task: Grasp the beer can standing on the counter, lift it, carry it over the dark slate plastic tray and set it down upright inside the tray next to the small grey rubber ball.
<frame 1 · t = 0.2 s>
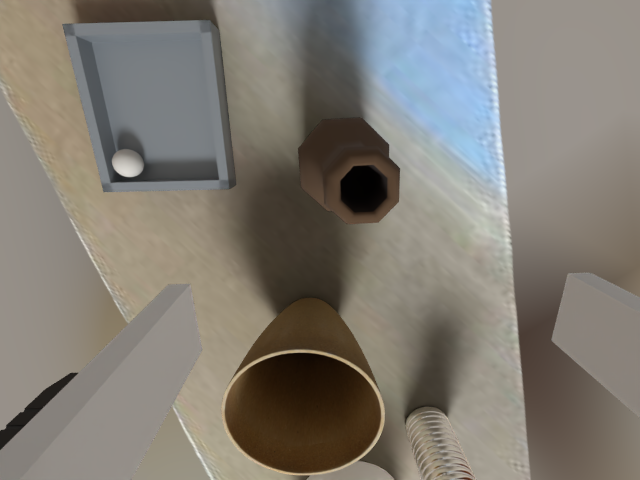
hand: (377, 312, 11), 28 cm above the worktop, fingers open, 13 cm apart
plant pot: (308, 319, 43), on the worktop
tray: (166, 115, 35), on the worktop
beer bottle: (335, 156, 36), on the worktop
ball: (135, 162, 35), point 1 cm above the worktop, touching tray
water bottle: (425, 419, 49), on the worktop
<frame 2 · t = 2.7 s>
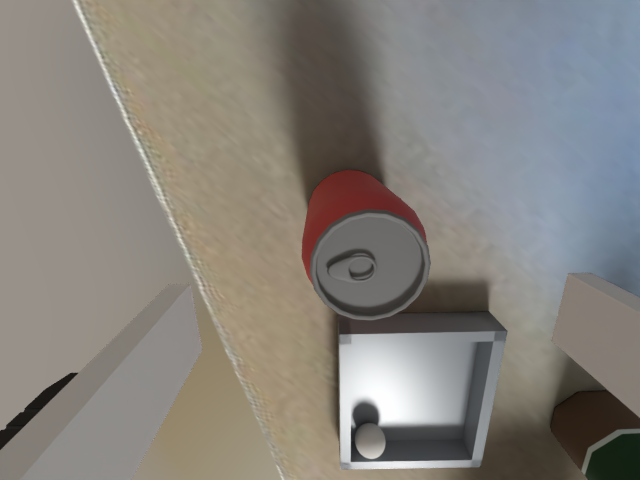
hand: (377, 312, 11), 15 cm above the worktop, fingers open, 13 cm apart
beer can: (348, 208, 26), on the worktop
tray: (407, 381, 31), on the worktop
beer bottle: (583, 414, 33), on the worktop
ball: (367, 426, 32), point 1 cm above the worktop, touching tray
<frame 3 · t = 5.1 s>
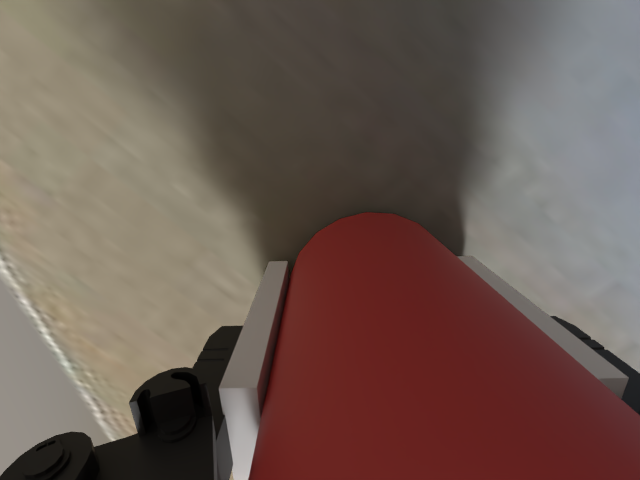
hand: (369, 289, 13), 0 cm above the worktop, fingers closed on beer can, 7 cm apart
beer can: (367, 281, 13), on the worktop, touching gripper
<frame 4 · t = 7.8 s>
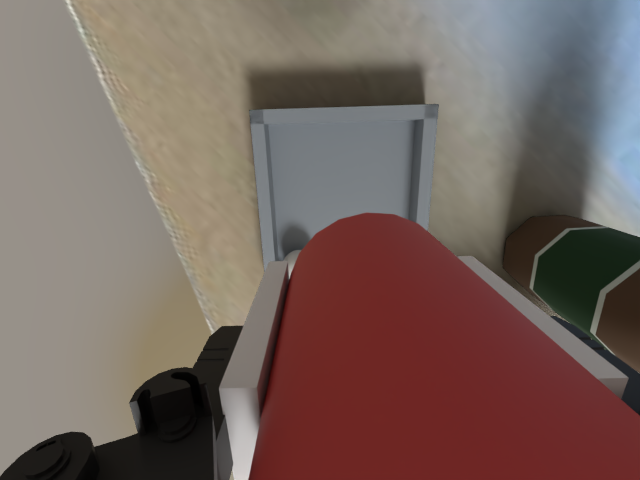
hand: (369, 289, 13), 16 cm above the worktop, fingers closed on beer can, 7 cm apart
beer can: (367, 282, 13), point 16 cm above the worktop, touching gripper
tray: (341, 204, 28), on the worktop
beer bottle: (537, 249, 30), on the worktop
ball: (300, 260, 29), point 1 cm above the worktop, touching tray
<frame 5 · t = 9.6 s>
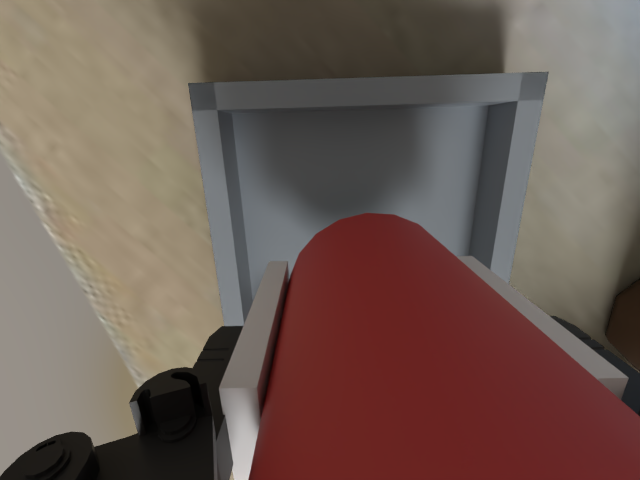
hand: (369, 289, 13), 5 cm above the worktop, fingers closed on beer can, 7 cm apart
beer can: (367, 282, 13), point 4 cm above the worktop, touching gripper
tray: (356, 245, 17), on the worktop
when the fingers open (3 cm above the worktop, at t = 10.9 s): beer can drops 1 cm, resting on tray.
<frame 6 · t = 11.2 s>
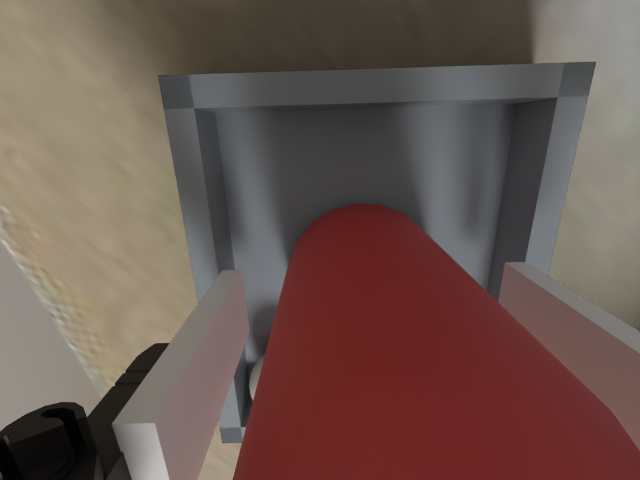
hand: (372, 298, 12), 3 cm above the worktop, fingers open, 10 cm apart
beer can: (359, 267, 15), point 1 cm above the worktop, touching tray
tray: (360, 263, 15), on the worktop
ball: (284, 359, 16), point 1 cm above the worktop, touching tray
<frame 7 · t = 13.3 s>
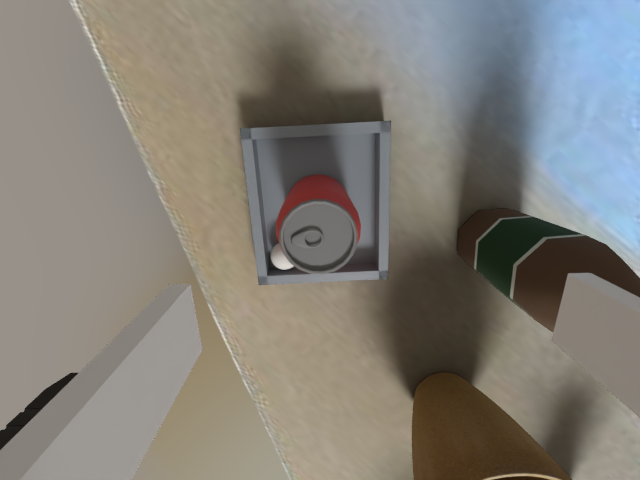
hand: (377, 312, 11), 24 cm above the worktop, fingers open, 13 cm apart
plant pot: (438, 392, 42), on the worktop
beer can: (317, 204, 33), point 1 cm above the worktop, touching tray
tray: (319, 203, 34), on the worktop
beer bottle: (486, 237, 35), on the worktop
ball: (286, 250, 35), point 1 cm above the worktop, touching tray
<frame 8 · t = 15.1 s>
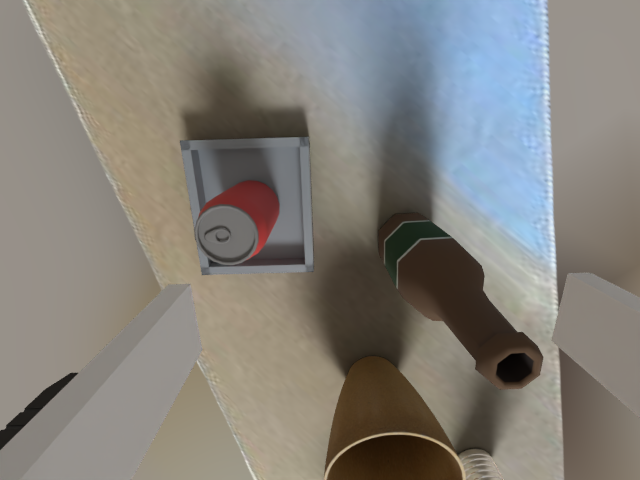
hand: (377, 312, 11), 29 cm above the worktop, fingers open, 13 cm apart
plant pot: (370, 374, 48), on the worktop
beer can: (254, 206, 38), point 1 cm above the worktop, touching tray
tray: (256, 205, 39), on the worktop
beer bottle: (404, 238, 41), on the worktop
water bottle: (471, 459, 54), on the worktop
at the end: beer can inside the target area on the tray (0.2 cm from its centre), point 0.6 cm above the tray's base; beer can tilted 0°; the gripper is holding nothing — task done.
